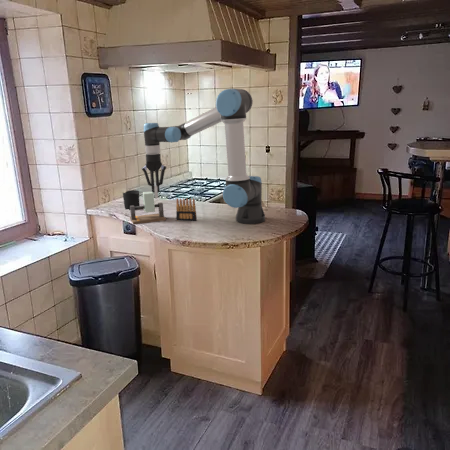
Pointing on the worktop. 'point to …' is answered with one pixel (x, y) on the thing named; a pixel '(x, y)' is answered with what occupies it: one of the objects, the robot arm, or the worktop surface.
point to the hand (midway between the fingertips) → (156, 198)
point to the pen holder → (131, 198)
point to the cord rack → (147, 217)
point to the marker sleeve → (148, 201)
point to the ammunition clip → (186, 210)
